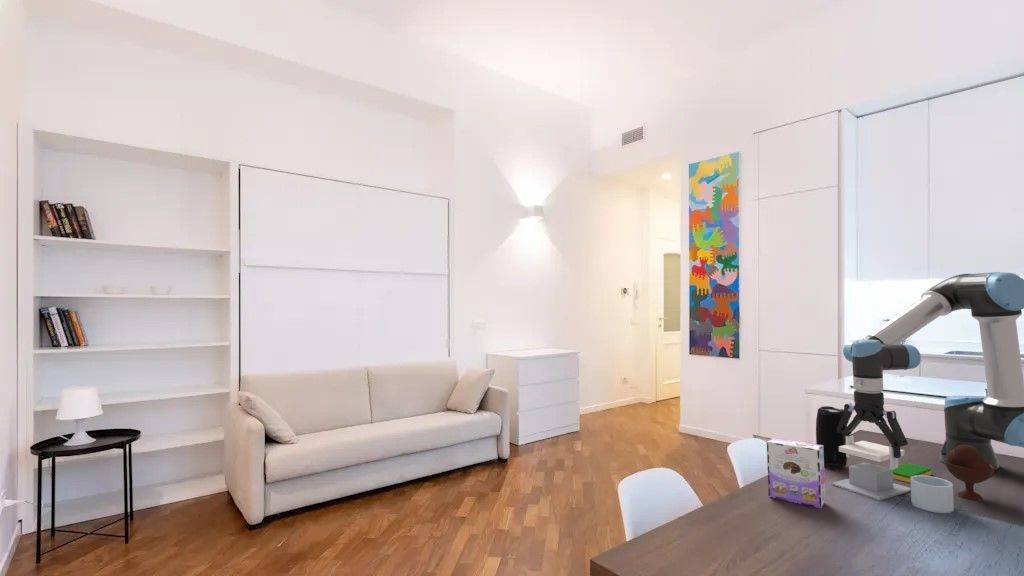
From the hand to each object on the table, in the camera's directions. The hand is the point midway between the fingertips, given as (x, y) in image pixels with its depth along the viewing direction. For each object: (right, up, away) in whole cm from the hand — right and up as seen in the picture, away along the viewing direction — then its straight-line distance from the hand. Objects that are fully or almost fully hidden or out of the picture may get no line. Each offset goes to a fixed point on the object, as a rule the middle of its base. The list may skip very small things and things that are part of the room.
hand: (871, 462), depth 158 cm
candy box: (-27, -8, -8) cm, 30 cm away
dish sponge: (+18, -8, +10) cm, 22 cm away
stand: (0, -8, 0) cm, 8 cm away
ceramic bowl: (+7, -7, -15) cm, 18 cm away
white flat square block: (0, +3, 0) cm, 3 cm away
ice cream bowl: (+22, -7, -8) cm, 25 cm away
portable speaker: (0, -8, +20) cm, 22 cm away
